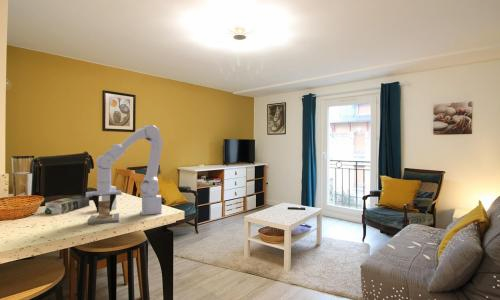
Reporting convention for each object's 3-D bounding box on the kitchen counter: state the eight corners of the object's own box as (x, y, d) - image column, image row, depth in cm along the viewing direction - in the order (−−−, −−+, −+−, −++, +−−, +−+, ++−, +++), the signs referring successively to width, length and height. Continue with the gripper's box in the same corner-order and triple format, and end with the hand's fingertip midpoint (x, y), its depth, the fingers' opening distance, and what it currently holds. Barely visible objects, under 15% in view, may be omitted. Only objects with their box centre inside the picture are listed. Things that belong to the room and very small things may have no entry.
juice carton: (59, 215, 138) (59, 202, 137) (42, 214, 139) (42, 202, 139) (90, 206, 157) (90, 195, 157) (74, 205, 159) (74, 194, 159)
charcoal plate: (119, 215, 138) (119, 212, 138) (118, 222, 127) (118, 218, 127) (90, 217, 133) (90, 214, 133) (88, 224, 122) (87, 221, 122)
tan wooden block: (109, 212, 133) (109, 200, 133) (109, 215, 129) (109, 202, 129) (99, 213, 131) (99, 200, 131) (98, 216, 127) (98, 202, 127)
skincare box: (116, 208, 152) (116, 186, 151) (110, 210, 148) (110, 187, 147) (107, 207, 154) (107, 185, 153) (101, 209, 149) (101, 186, 149)
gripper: (121, 179, 136) (121, 208, 137) (87, 181, 130) (87, 210, 131) (121, 182, 130) (121, 211, 130) (85, 183, 124) (85, 214, 124)
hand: (104, 211), depth 130 cm, fingers closed on tan wooden block, 4 cm apart
